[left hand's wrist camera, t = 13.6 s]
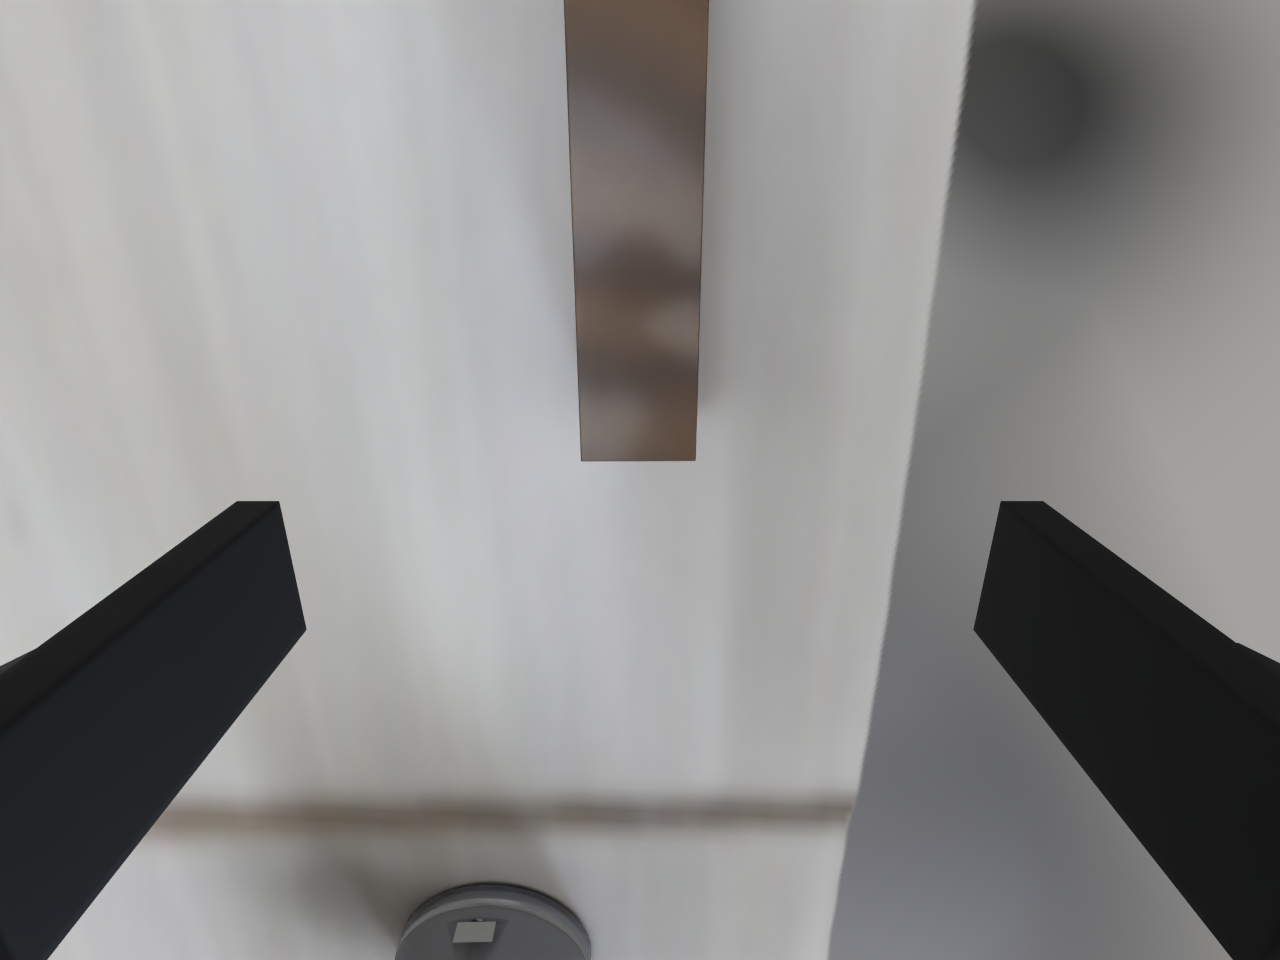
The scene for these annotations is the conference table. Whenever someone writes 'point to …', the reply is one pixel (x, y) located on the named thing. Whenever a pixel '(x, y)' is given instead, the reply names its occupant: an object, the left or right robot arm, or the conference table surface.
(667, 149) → the bar
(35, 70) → the conference table surface
